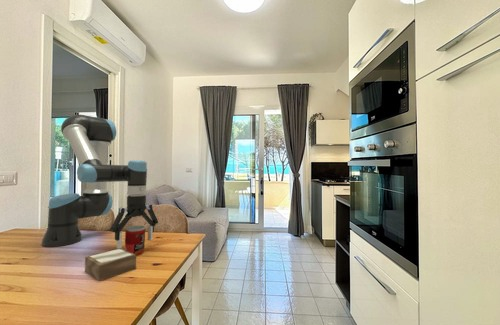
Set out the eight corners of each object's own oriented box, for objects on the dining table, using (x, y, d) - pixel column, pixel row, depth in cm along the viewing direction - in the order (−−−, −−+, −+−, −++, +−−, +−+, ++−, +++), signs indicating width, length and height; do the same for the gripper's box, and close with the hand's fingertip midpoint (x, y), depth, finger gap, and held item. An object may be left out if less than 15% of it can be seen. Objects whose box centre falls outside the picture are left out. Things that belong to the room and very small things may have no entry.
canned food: (136, 256, 94) (137, 230, 95) (120, 255, 96) (121, 229, 96) (148, 250, 102) (149, 226, 102) (132, 249, 104) (133, 225, 104)
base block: (84, 271, 80) (85, 256, 81) (120, 260, 90) (120, 247, 90) (99, 281, 73) (100, 265, 74) (135, 268, 83) (136, 254, 83)
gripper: (110, 198, 88) (108, 253, 87) (166, 193, 108) (165, 238, 107) (101, 197, 92) (99, 249, 91) (157, 192, 112) (156, 236, 111)
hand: (135, 243), depth 99 cm, fingers open, 13 cm apart
